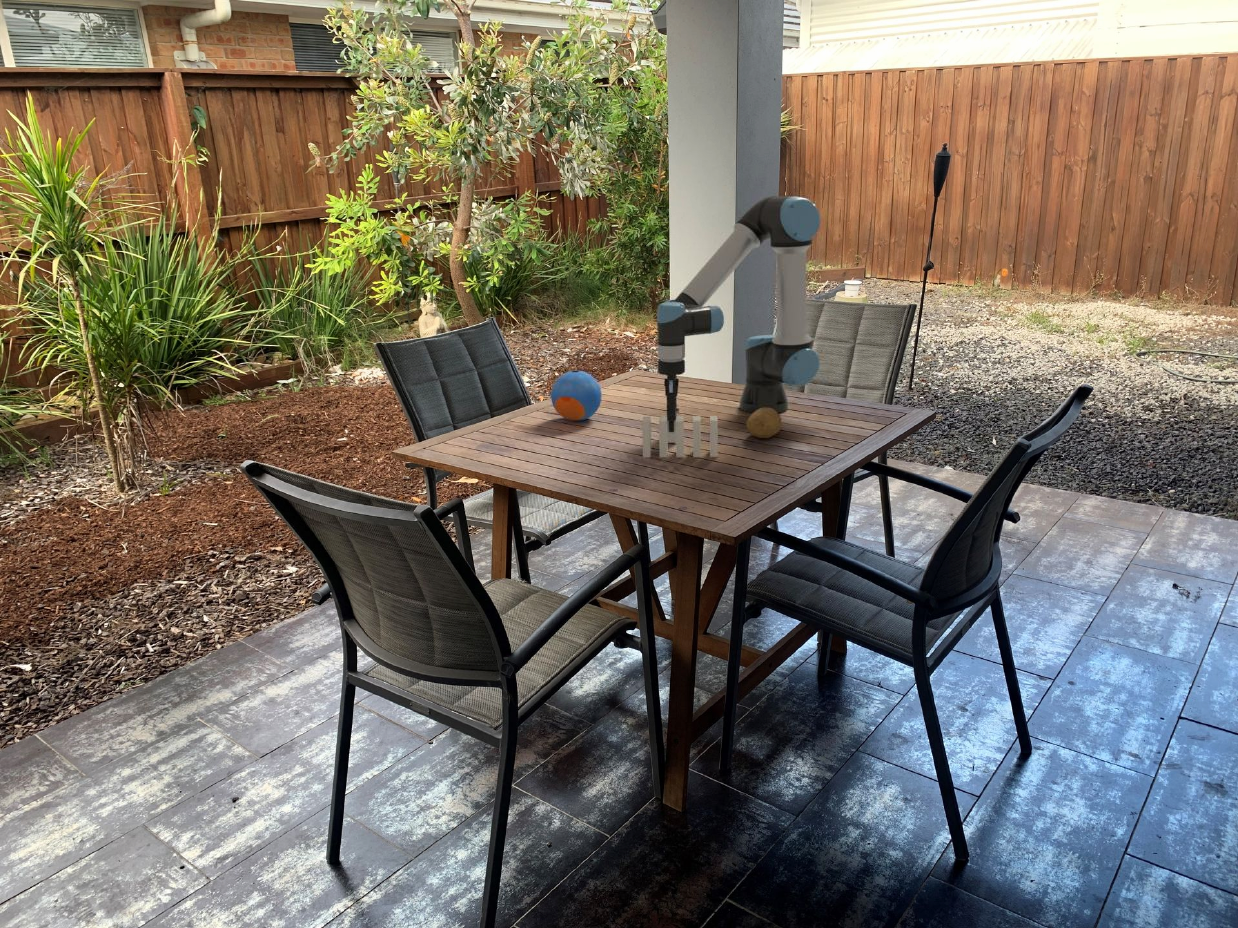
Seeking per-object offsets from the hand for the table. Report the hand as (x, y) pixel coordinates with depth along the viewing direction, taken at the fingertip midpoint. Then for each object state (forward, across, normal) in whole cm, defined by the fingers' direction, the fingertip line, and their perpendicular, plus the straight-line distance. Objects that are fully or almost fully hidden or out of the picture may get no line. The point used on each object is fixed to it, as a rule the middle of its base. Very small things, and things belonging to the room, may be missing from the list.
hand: (672, 438), depth 260 cm
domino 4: (0, +14, +7) cm, 16 cm away
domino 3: (0, +14, +3) cm, 14 cm away
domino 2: (0, +14, -2) cm, 14 cm away
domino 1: (0, +14, -6) cm, 15 cm away
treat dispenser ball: (+1, -21, -30) cm, 37 cm away
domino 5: (0, +14, +12) cm, 18 cm away
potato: (0, -2, +26) cm, 26 cm away
